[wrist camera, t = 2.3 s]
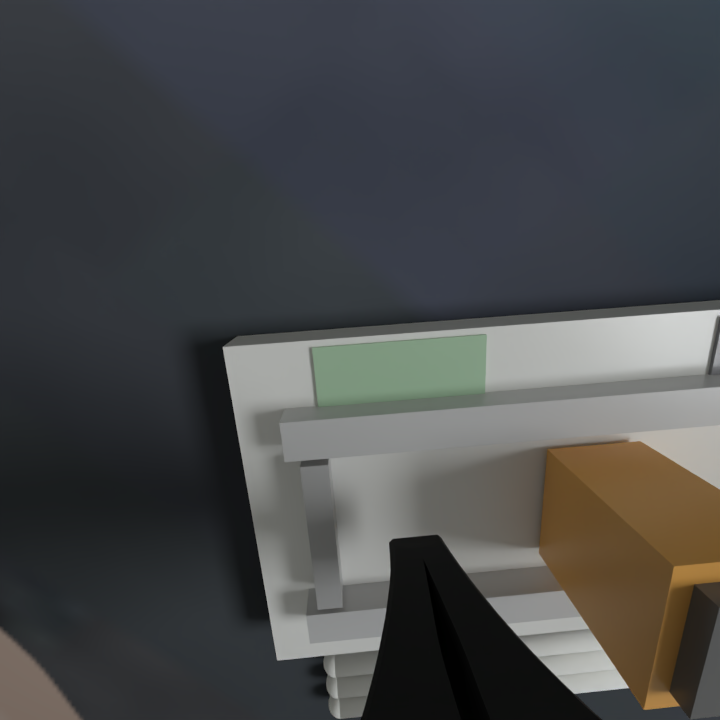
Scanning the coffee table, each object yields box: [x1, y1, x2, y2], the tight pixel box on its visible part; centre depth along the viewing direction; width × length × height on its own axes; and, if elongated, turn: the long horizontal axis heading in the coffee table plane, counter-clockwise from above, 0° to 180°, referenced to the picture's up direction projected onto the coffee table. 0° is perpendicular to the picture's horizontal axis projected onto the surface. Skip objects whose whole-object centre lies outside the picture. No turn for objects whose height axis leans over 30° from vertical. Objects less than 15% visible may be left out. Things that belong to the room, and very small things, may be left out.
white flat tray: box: [223, 300, 720, 660], centre depth 12 cm, size 12×22×2 cm, turn 94°
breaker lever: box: [539, 441, 720, 719], centre depth 10 cm, size 4×3×5 cm
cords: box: [324, 629, 629, 719], centre depth 16 cm, size 19×3×1 cm, turn 94°
